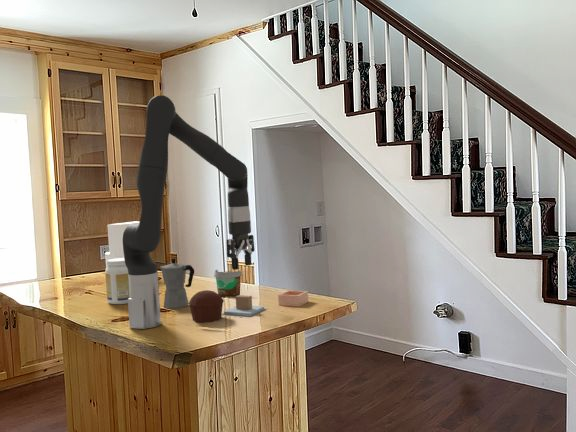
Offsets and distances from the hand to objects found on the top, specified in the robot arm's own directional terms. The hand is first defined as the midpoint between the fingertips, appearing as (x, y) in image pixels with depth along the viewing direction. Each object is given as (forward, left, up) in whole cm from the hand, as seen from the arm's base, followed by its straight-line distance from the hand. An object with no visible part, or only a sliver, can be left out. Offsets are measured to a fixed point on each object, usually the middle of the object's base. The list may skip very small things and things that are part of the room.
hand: (241, 267), depth 188 cm
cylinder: (+45, +95, -16) cm, 106 cm away
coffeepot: (+4, +31, -16) cm, 35 cm away
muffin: (-12, +7, -16) cm, 22 cm away
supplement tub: (+5, +59, -16) cm, 61 cm away
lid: (0, 0, -15) cm, 15 cm away
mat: (0, 0, -16) cm, 16 cm away
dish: (+16, -11, -16) cm, 25 cm away
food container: (+24, +23, -16) cm, 37 cm away
